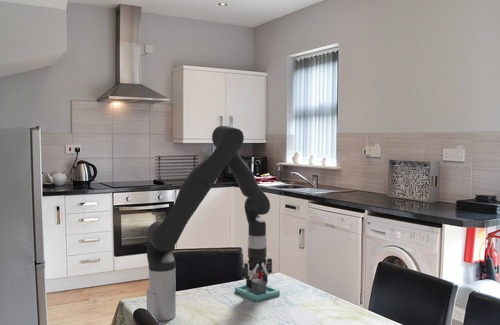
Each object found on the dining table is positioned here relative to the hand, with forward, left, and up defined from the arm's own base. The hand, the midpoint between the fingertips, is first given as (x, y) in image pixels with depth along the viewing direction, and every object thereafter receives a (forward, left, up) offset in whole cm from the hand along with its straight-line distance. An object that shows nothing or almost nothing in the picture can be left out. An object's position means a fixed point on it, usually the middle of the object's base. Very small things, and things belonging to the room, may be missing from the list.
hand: (257, 286), depth 181 cm
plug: (0, 0, -2) cm, 2 cm away
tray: (0, 0, -3) cm, 3 cm away
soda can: (+9, +11, -3) cm, 15 cm away
